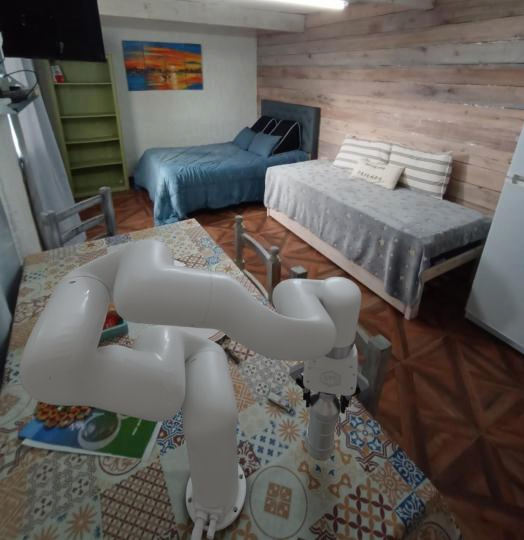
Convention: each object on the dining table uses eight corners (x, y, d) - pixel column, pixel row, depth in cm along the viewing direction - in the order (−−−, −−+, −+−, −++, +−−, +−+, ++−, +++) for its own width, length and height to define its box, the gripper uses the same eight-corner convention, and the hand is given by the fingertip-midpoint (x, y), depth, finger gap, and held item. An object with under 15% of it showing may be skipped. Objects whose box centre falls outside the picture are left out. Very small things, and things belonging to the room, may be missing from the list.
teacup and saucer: (159, 275, 136) (157, 267, 134) (146, 269, 139) (145, 262, 138) (174, 265, 143) (173, 257, 141) (162, 260, 146) (161, 252, 145)
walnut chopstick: (240, 362, 96) (240, 359, 96) (238, 364, 95) (237, 361, 95) (226, 348, 101) (226, 346, 100) (224, 350, 100) (223, 347, 100)
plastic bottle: (333, 469, 68) (345, 405, 61) (302, 461, 69) (310, 398, 62) (333, 437, 74) (344, 376, 67) (304, 430, 75) (311, 369, 68)
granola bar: (266, 399, 85) (266, 396, 85) (270, 392, 87) (270, 389, 87) (288, 412, 82) (288, 410, 82) (292, 405, 84) (292, 402, 83)
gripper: (286, 348, 58) (282, 414, 64) (385, 362, 55) (370, 430, 62) (289, 318, 65) (285, 381, 71) (377, 330, 62) (364, 393, 69)
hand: (324, 403), depth 66 cm, fingers closed on plastic bottle, 6 cm apart
